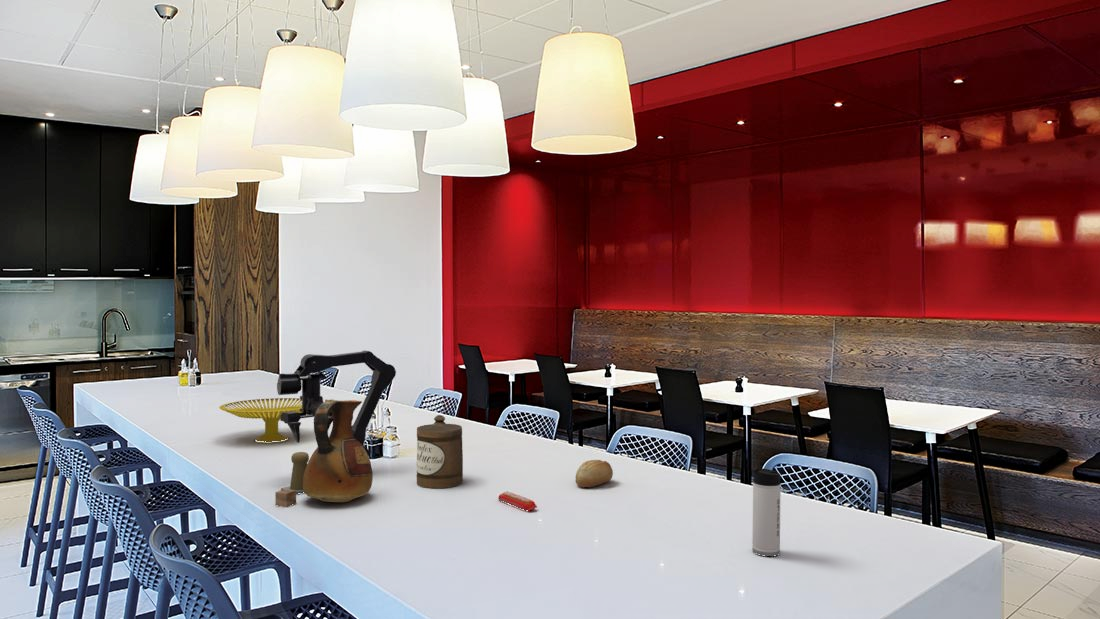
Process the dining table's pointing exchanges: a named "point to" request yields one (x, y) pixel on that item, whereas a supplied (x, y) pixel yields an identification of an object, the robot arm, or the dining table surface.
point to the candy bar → (517, 501)
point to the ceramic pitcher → (337, 457)
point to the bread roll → (593, 473)
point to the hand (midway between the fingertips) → (311, 440)
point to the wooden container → (439, 454)
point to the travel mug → (766, 512)
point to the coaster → (290, 489)
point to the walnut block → (285, 497)
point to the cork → (298, 470)
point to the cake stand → (265, 415)
